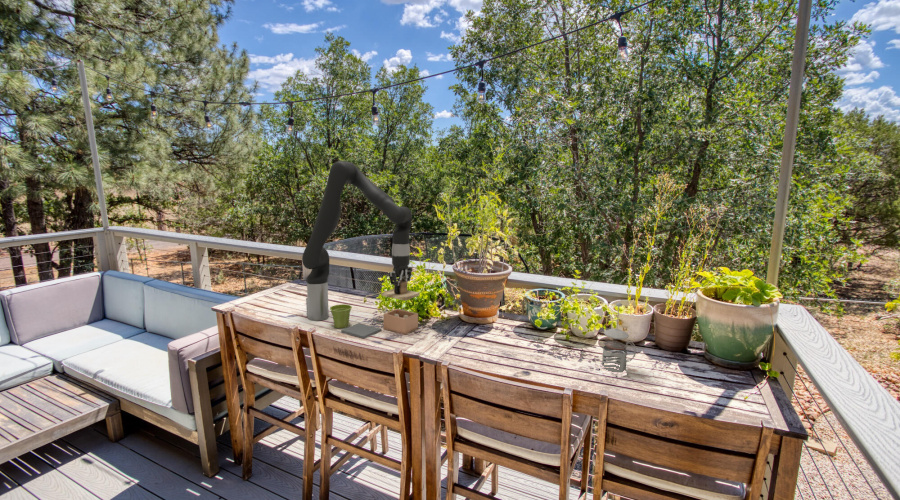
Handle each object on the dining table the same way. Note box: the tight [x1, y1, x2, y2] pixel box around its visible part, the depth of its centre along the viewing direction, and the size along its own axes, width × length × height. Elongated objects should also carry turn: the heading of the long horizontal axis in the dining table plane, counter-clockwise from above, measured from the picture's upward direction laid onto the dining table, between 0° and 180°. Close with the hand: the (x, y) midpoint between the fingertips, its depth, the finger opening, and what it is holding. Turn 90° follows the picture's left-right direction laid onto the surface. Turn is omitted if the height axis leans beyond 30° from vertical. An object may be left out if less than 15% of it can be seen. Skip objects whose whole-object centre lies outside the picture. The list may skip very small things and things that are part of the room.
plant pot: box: [329, 303, 353, 329], centre depth 185 cm, size 9×9×9 cm
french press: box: [601, 301, 637, 372], centre depth 144 cm, size 10×12×25 cm
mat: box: [340, 322, 382, 339], centre depth 180 cm, size 13×11×1 cm
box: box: [382, 308, 419, 336], centre depth 183 cm, size 12×9×7 cm
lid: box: [381, 280, 421, 301], centre depth 181 cm, size 13×10×6 cm
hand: (400, 292), depth 181 cm, fingers closed on lid, 4 cm apart
